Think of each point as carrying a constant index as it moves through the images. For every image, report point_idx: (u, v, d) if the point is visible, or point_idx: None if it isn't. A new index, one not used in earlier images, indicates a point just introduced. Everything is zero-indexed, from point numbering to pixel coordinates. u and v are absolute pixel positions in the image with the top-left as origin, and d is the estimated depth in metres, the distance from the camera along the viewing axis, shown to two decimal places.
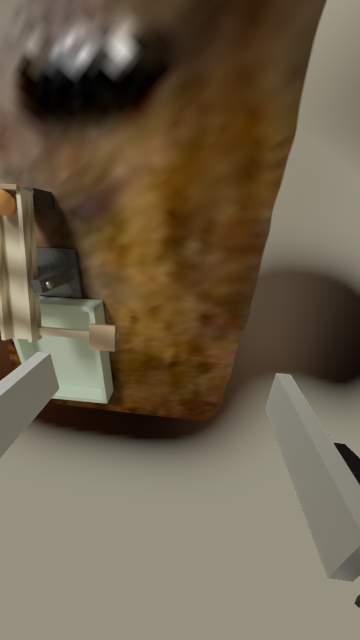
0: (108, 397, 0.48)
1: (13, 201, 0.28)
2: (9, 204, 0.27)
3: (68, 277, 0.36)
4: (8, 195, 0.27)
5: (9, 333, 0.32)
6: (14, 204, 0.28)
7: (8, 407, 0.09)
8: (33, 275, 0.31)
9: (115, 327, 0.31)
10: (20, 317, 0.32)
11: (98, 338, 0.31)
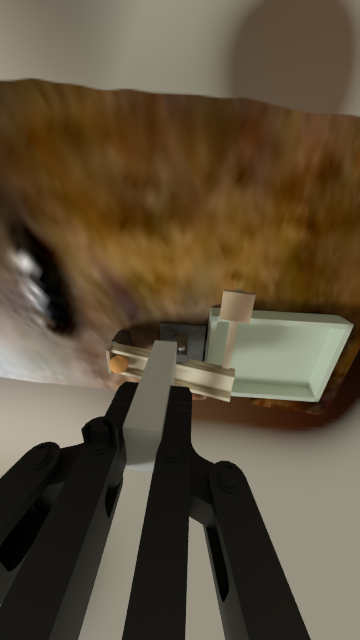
0: (344, 321, 0.35)
1: (117, 356, 0.36)
2: (118, 359, 0.35)
3: (183, 333, 0.38)
4: (113, 357, 0.35)
5: (225, 393, 0.33)
6: (119, 356, 0.36)
7: None
8: None
9: (225, 290, 0.26)
10: (210, 380, 0.34)
11: (236, 311, 0.27)
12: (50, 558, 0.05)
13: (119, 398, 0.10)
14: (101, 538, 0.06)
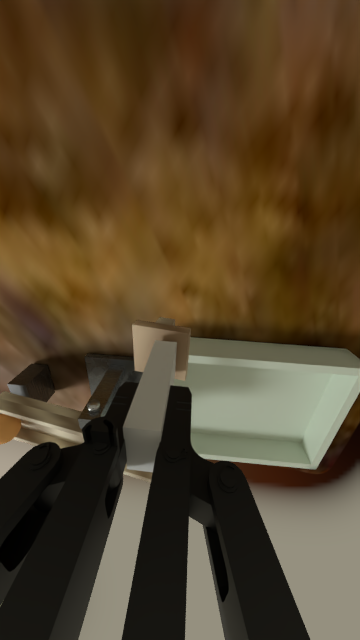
0: (357, 363, 0.22)
1: None
2: None
3: (114, 372, 0.26)
4: None
5: None
6: (3, 416, 0.23)
7: None
8: None
9: (137, 323, 0.14)
10: None
11: None
12: (50, 558, 0.05)
13: (119, 398, 0.10)
14: (101, 538, 0.06)
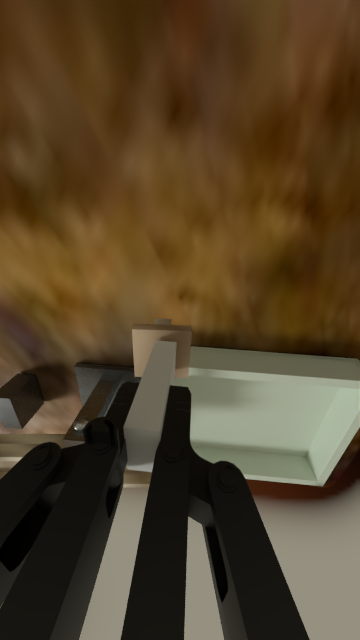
0: None
1: None
2: None
3: (106, 384, 0.24)
4: None
5: None
6: None
7: None
8: None
9: (136, 327, 0.14)
10: None
11: None
12: (51, 558, 0.05)
13: (120, 398, 0.10)
14: (102, 538, 0.06)
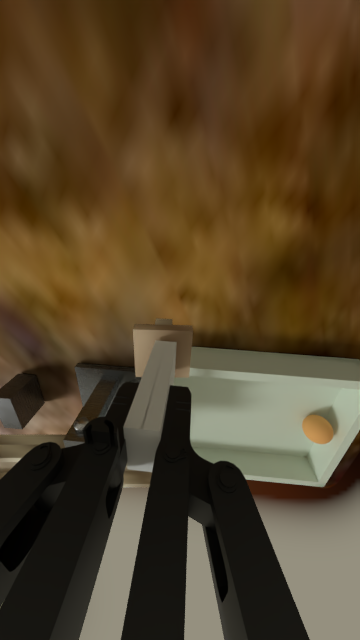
0: None
1: (322, 418, 0.24)
2: (319, 422, 0.24)
3: (106, 384, 0.24)
4: (315, 415, 0.25)
5: None
6: (325, 421, 0.24)
7: None
8: None
9: (137, 327, 0.14)
10: None
11: None
12: (51, 558, 0.05)
13: (120, 398, 0.10)
14: (102, 538, 0.06)
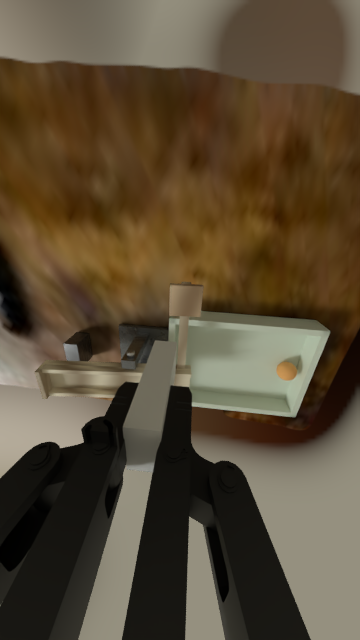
0: (320, 327, 0.31)
1: (290, 363, 0.35)
2: (286, 364, 0.34)
3: (141, 336, 0.35)
4: None
5: None
6: (291, 364, 0.34)
7: None
8: None
9: (172, 284, 0.24)
10: None
11: (186, 305, 0.25)
12: (50, 558, 0.05)
13: (119, 398, 0.10)
14: (101, 538, 0.06)
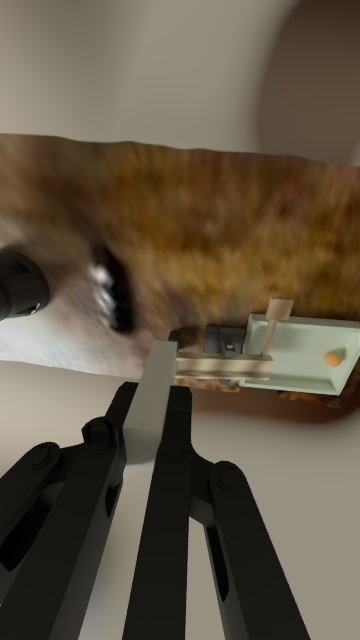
0: None
1: (336, 353, 0.46)
2: (333, 354, 0.46)
3: (226, 334, 0.46)
4: None
5: (263, 375, 0.44)
6: (337, 354, 0.46)
7: None
8: (222, 356, 0.42)
9: (272, 298, 0.36)
10: (252, 367, 0.43)
11: (279, 312, 0.37)
12: (50, 558, 0.05)
13: (119, 398, 0.10)
14: (101, 538, 0.06)
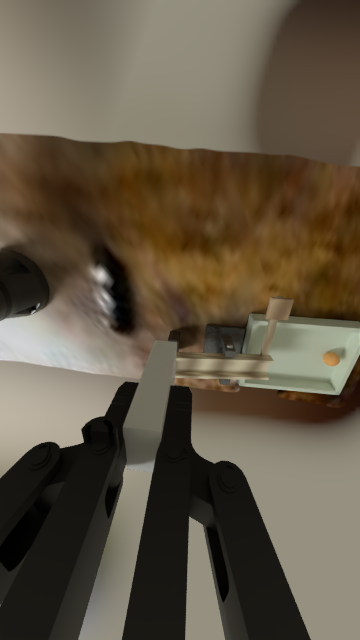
0: None
1: None
2: (331, 353, 0.46)
3: (226, 334, 0.47)
4: (332, 352, 0.47)
5: (263, 375, 0.44)
6: (335, 354, 0.46)
7: None
8: (222, 355, 0.42)
9: (272, 298, 0.36)
10: (252, 367, 0.43)
11: (279, 312, 0.37)
12: (50, 558, 0.05)
13: (119, 398, 0.10)
14: (101, 538, 0.06)
